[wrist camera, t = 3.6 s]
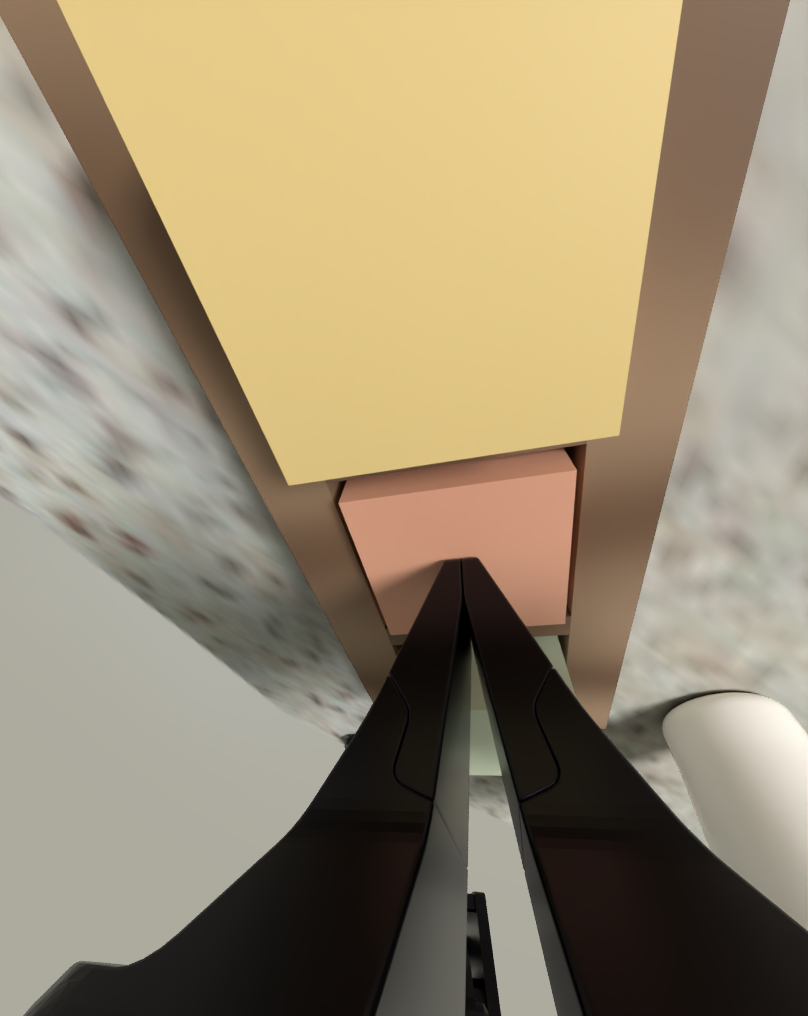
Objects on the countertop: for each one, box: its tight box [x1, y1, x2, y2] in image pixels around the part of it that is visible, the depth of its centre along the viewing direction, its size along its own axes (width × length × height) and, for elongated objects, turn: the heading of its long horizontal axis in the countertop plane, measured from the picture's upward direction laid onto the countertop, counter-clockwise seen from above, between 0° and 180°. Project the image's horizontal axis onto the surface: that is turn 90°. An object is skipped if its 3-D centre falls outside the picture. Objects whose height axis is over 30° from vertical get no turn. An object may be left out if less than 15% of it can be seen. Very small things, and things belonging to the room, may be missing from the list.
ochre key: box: [57, 0, 683, 486], centre depth 5 cm, size 5×5×3 cm
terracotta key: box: [339, 448, 577, 635], centre depth 10 cm, size 5×5×3 cm
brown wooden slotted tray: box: [0, 0, 790, 729], centre depth 10 cm, size 21×9×2 cm, turn 12°
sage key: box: [469, 635, 576, 776], centre depth 13 cm, size 5×5×3 cm
